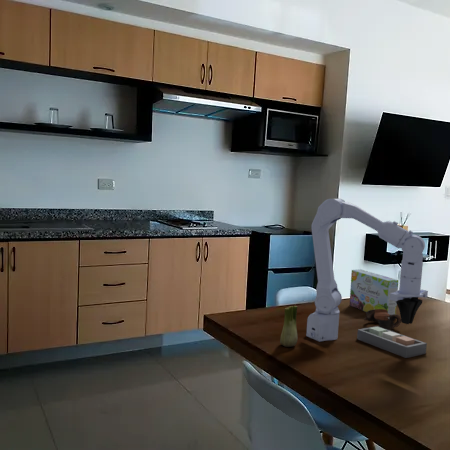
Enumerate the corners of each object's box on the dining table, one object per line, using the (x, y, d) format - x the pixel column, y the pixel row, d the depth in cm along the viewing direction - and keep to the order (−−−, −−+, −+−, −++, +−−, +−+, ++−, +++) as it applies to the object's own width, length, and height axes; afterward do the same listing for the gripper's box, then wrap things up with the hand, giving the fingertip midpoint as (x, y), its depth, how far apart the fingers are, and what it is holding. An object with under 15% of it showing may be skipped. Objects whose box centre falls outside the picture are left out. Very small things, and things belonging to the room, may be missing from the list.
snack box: (347, 305, 200) (350, 269, 198) (358, 305, 202) (361, 269, 201) (385, 320, 181) (388, 279, 179) (396, 319, 183) (400, 279, 182)
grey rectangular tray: (405, 361, 138) (406, 347, 137) (356, 342, 153) (357, 329, 152) (425, 356, 142) (426, 343, 142) (376, 338, 158) (377, 326, 157)
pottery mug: (364, 333, 164) (361, 309, 168) (369, 339, 172) (365, 316, 176) (402, 329, 160) (398, 305, 164) (404, 335, 168) (400, 312, 171)
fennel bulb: (293, 342, 149) (295, 303, 148) (301, 348, 144) (304, 308, 143) (276, 343, 147) (278, 304, 146) (283, 349, 142) (286, 308, 141)
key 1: (378, 338, 149) (378, 331, 149) (368, 335, 152) (369, 327, 152) (385, 337, 151) (386, 329, 151) (376, 334, 154) (377, 326, 154)
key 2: (405, 349, 141) (406, 341, 141) (395, 345, 144) (396, 337, 144) (413, 347, 143) (414, 339, 142) (403, 343, 146) (404, 335, 145)
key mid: (391, 343, 145) (392, 336, 145) (381, 340, 148) (382, 332, 148) (399, 342, 147) (400, 334, 147) (389, 338, 150) (390, 331, 150)
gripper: (406, 281, 134) (402, 329, 135) (438, 278, 142) (434, 323, 143) (385, 276, 140) (381, 322, 141) (417, 273, 148) (413, 317, 149)
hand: (406, 323), depth 143 cm, fingers closed
